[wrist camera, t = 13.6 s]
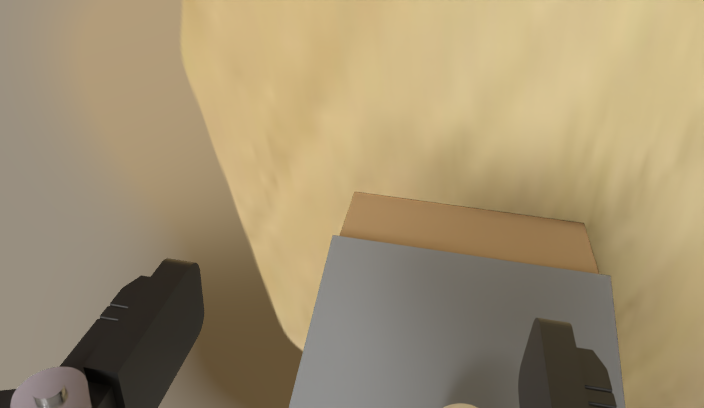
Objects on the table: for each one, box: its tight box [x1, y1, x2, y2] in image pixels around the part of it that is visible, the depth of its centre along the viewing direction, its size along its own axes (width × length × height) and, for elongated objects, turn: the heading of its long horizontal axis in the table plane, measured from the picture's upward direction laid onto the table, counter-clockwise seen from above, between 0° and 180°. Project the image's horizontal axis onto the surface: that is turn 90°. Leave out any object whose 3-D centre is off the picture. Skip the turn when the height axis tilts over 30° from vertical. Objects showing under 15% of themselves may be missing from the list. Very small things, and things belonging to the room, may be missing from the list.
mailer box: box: [340, 192, 599, 274], centre depth 52 cm, size 20×16×8 cm
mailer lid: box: [289, 235, 625, 408], centre depth 36 cm, size 21×18×7 cm
